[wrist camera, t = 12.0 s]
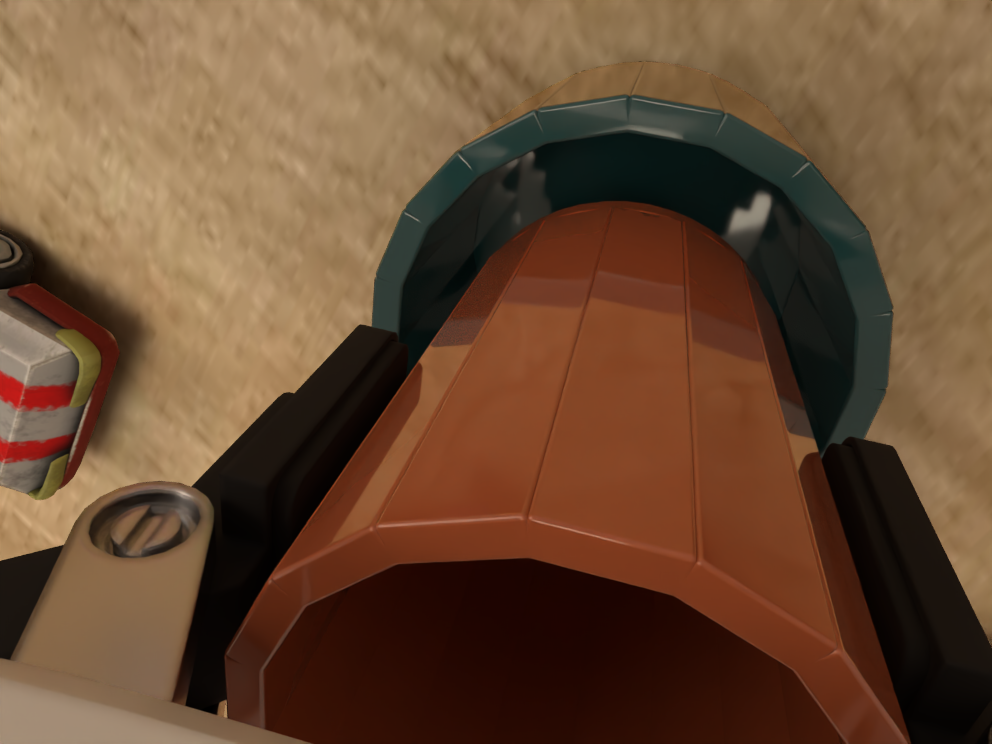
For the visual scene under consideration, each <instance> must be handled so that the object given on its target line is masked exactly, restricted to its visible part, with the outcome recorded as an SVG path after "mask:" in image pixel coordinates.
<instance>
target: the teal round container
mask: <svg viewBox="0 0 992 744" xmlns="http://www.w3.org/2000/svg"><path fill="white" fill-rule="evenodd" d="M602 201H628V202H635V203H643V204H650V205H654V206H657V207H661V208H665V209H669V210H672V211H674V212H677V213H679V214H681V215H684V216H686V217H689V218H691V219H693V220H695V221H697V222H698V223H700V224H702V225H703V226H705V227H707V228H709V229H710V230H712V231H713V232H714V233H716V234H717V235H718V236H719V237H721V238H722V239H723V240H725V241H726V242H727V243H728V244H729V245H730V246H731V247H732V248H733V249H734V250H735V251H736V252H737V253H738V254H739V255H740V256H741V257H742V258H743V259H744V261H745V262H746V263H747V265H748V266H749V267H750V269H751V270H752V272H753V273H754V274H755V276H756V278H757V280H758V282H759V284H760V285H761V287H762V289H763V291H764V293H765V296H766V299H767V301H768V303H769V305H770V306H771V308H772V310H773V311H774V313H775V316H776V319H777V322H778V325H779V328H780V331H781V334H782V337H783V341H784V344H785V347H786V350H787V353H788V356H789V360H790V363H791V366H792V369H793V372H794V375H795V378H796V382H797V385H798V388H799V391H800V394H801V397H802V401H803V404H804V407H805V410H806V413H807V416H808V419H809V423H810V426H811V429H812V432H813V435H814V438H815V441H816V445H817V448H818V451H819V454H820V457H821V459H822V457H823V455H824V453H825V451H826V449H827V447H828V446H829V445H830V444H831V443H837V444H842V442H843V441H844V440H845V439H846V438H848V437H850V436H851V437H855V438H860V439H864V438H865V436H866V434H867V432H868V430H869V428H870V425H871V423H872V421H873V419H874V417H875V415H876V413H877V411H878V409H879V406H880V404H881V402H882V400H883V398H884V396H885V394H886V388H887V387H888V381H889V368H890V354H891V341H892V327H893V314H894V313H893V311H892V310H893V304H892V301H891V298H890V295H889V292H888V289H887V286H886V283H885V280H884V277H883V273H882V270H881V267H880V264H879V261H878V258H877V255H876V252H875V249H874V246H873V243H872V239H871V236H870V233H869V231H868V230H867V229H866V226H865V224H864V223H863V222H862V221H861V220H860V218H859V217H858V216H857V215H856V213H855V212H854V211H853V210H852V209H851V207H850V206H849V205H848V204H847V202H846V201H845V200H844V199H843V198H842V196H841V195H840V194H839V193H838V191H837V190H836V189H835V188H834V187H833V185H832V184H831V183H830V182H829V180H828V179H827V178H826V177H825V175H824V174H823V173H822V172H821V171H820V169H819V168H818V167H817V166H816V164H815V163H814V162H813V161H812V160H811V158H810V157H809V156H808V155H807V153H806V152H805V151H804V150H803V149H802V147H801V146H800V145H799V144H798V143H797V141H796V140H795V139H794V138H793V137H792V135H791V134H790V133H789V132H788V131H787V129H786V128H785V127H784V126H783V125H782V123H781V122H780V121H779V120H778V118H777V117H776V116H775V115H774V114H773V112H772V111H771V110H770V109H769V108H768V106H765V105H764V103H762V102H761V101H759V100H757V99H755V98H754V97H752V96H751V95H750V94H748V93H747V92H745V91H743V90H742V89H740V88H738V87H737V86H735V85H733V84H732V83H730V82H728V81H726V80H724V79H722V78H719V77H717V76H715V75H713V74H709V73H707V72H706V71H702V70H698V69H694V68H690V67H686V66H682V65H678V64H670V63H660V62H651V61H646V62H642V61H639V62H623V63H618V64H612V65H606V66H601V67H596V68H593V69H590V70H584V71H581V72H580V73H575V74H573V75H572V76H570V77H568V78H566V79H564V80H562V81H560V82H558V83H556V84H554V85H551V86H550V87H548V88H547V89H545V90H543V91H541V92H540V93H538V94H536V95H534V96H532V97H530V98H528V99H526V100H525V101H524V102H522V103H521V104H520V105H518V106H517V107H515V108H514V109H513V110H511V111H510V112H509V113H507V114H506V115H505V116H503V117H502V118H500V119H499V120H498V121H496V122H495V123H494V124H492V125H491V126H490V127H488V128H487V129H485V130H484V131H483V132H481V133H480V134H479V135H477V136H476V137H474V138H473V139H472V140H470V141H469V142H468V143H466V144H465V145H464V146H462V147H461V148H460V149H458V150H457V151H456V152H455V153H454V154H453V155H452V156H451V157H450V158H449V159H448V160H447V161H446V162H445V164H444V165H443V166H442V167H441V168H440V169H439V170H438V171H437V172H436V173H435V174H434V175H433V176H432V178H431V179H430V180H429V181H428V182H427V183H426V184H425V185H424V186H423V187H422V188H421V189H420V190H419V192H418V193H417V194H416V195H415V196H414V197H413V198H412V199H411V200H410V201H409V202H408V203H407V204H406V207H405V209H404V210H403V211H402V213H401V215H400V217H399V220H398V222H397V225H396V227H395V229H394V232H393V234H392V236H391V239H390V241H389V243H388V246H387V248H386V250H385V253H384V255H383V257H382V260H381V262H380V264H379V267H378V269H377V271H376V277H375V280H374V296H373V312H372V327H375V328H379V329H383V330H388V331H392V332H396V333H397V335H398V342H399V343H403V344H407V346H408V363H407V374H406V378H407V376H408V375H409V373H410V372H411V370H412V369H413V367H414V366H415V365H416V363H417V362H418V360H419V359H420V357H421V356H422V354H423V353H424V352H425V350H426V349H427V347H428V346H429V344H430V343H431V341H432V340H433V339H434V337H435V336H436V334H437V333H438V331H439V330H440V328H441V327H442V325H443V324H444V323H445V321H446V320H447V318H448V317H449V315H450V314H451V312H452V311H453V310H454V308H455V307H456V305H457V304H458V302H459V301H460V299H461V298H462V296H463V295H464V294H465V292H466V291H467V289H468V288H469V286H470V285H471V283H472V282H473V281H474V279H475V278H476V276H477V275H478V273H479V272H480V270H481V269H482V268H483V266H484V265H485V263H486V262H487V260H488V259H489V257H491V256H492V255H493V253H495V252H496V251H497V250H498V249H499V248H500V247H501V246H502V245H503V244H504V243H505V242H506V241H507V240H509V239H510V238H511V237H512V236H514V235H515V234H516V233H518V232H519V231H520V230H521V229H523V228H524V227H526V226H528V225H530V224H531V223H533V222H535V221H536V220H538V219H540V218H542V217H544V216H547V215H549V214H552V213H554V212H556V211H559V210H562V209H565V208H569V207H573V206H577V205H581V204H587V203H595V202H602Z"/></svg>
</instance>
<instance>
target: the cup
mask: <svg viewBox="0 0 992 744" xmlns="http://www.w3.org/2000/svg"><path fill="white" fill-rule="evenodd" d="M224 670H225V686H226V702H227V717H228V719H231V720H235V721H238V722H241V723H245V724H248V725H251V726H255V727H258V728H261V729H265V730H268V731H271V732H275V733H278V734H282V735H285V736H288V737H292V738H295V739H298V740H302V741H305V742H308V743H312V744H911V741H910V738H909V735H908V731H907V728H906V725H905V722H904V719H903V716H902V713H901V709H900V706H899V703H898V700H897V697H896V694H895V690H894V687H893V684H892V681H891V678H890V675H889V672H888V668H887V665H886V662H885V659H884V656H883V653H882V650H881V646H880V643H879V640H878V637H877V634H876V631H875V627H874V624H873V621H872V618H871V615H870V612H869V609H868V605H867V602H866V599H865V596H864V593H863V590H862V586H861V583H860V580H859V577H858V574H857V571H856V568H855V564H854V561H853V558H852V555H851V552H850V549H849V545H848V542H847V539H846V536H845V533H844V530H843V527H842V523H841V520H840V517H839V514H838V511H837V508H836V505H835V501H834V498H833V495H832V492H831V489H830V486H829V482H828V479H827V476H826V473H825V470H824V467H823V464H822V460H821V457H820V454H819V451H818V448H817V445H816V441H815V438H814V435H813V432H812V429H811V426H810V423H809V419H808V416H807V413H806V410H805V407H804V404H803V401H802V397H801V394H800V391H799V388H798V385H797V382H796V378H795V375H794V372H793V369H792V366H791V363H790V360H789V356H788V353H787V350H786V347H785V344H784V341H783V337H782V334H781V331H780V328H779V325H778V322H777V319H776V316H775V313H774V311H773V310H772V308H771V306H770V305H769V303H768V301H767V299H766V296H765V293H764V291H763V289H762V287H761V285H760V284H759V282H758V280H757V278H756V276H755V274H754V273H753V272H752V270H751V269H750V267H749V266H748V265H747V263H746V262H745V261H744V259H743V258H742V257H741V256H740V255H739V254H738V253H737V252H736V251H735V250H734V249H733V248H732V247H731V246H730V245H729V244H728V243H727V242H726V241H725V240H723V239H722V238H721V237H719V236H718V235H717V234H716V233H714V232H713V231H712V230H710V229H709V228H707V227H705V226H703V225H702V224H700V223H698V222H697V221H695V220H693V219H691V218H689V217H686V216H684V215H681V214H679V213H677V212H674V211H672V210H669V209H665V208H661V207H657V206H654V205H650V204H643V203H635V202H628V201H602V202H595V203H587V204H581V205H577V206H573V207H569V208H565V209H562V210H559V211H556V212H554V213H552V214H549V215H547V216H544V217H542V218H540V219H538V220H536V221H535V222H533V223H531V224H530V225H528V226H526V227H524V228H523V229H521V230H520V231H519V232H518V233H516V234H515V235H514V236H512V237H511V238H510V239H509V240H507V241H506V242H505V243H504V244H503V245H502V246H501V247H500V248H499V249H498V250H497V251H496V252H495V253H493V255H492V256H491V257H489V259H488V260H487V262H486V263H485V265H484V266H483V268H482V269H481V270H480V272H479V273H478V275H477V276H476V278H475V279H474V281H473V282H472V283H471V285H470V286H469V288H468V289H467V291H466V292H465V294H464V295H463V296H462V298H461V299H460V301H459V302H458V304H457V305H456V307H455V308H454V310H453V311H452V312H451V314H450V315H449V317H448V318H447V320H446V321H445V323H444V324H443V325H442V327H441V328H440V330H439V331H438V333H437V334H436V336H435V337H434V339H433V340H432V341H431V343H430V344H429V346H428V347H427V349H426V350H425V352H424V353H423V354H422V356H421V357H420V359H419V360H418V362H417V363H416V365H415V366H414V367H413V369H412V370H411V372H410V373H409V375H408V376H407V378H406V379H405V381H404V382H403V383H402V385H401V386H400V388H399V389H398V391H397V392H396V394H395V395H394V396H393V398H392V399H391V401H390V402H389V404H388V405H387V407H386V408H385V409H384V411H383V412H382V414H381V415H380V417H379V418H378V420H377V421H376V423H375V424H374V425H373V427H372V428H371V430H370V431H369V433H368V434H367V436H366V437H365V438H364V440H363V441H362V443H361V444H360V446H359V447H358V449H357V450H356V451H355V453H354V454H353V456H352V457H351V459H350V460H349V462H348V463H347V465H346V466H345V467H344V469H343V470H342V472H341V473H340V475H339V476H338V478H337V479H336V480H335V482H334V483H333V485H332V486H331V488H330V489H329V491H328V492H327V494H326V495H325V496H324V498H323V499H322V501H321V502H320V504H319V505H318V507H317V508H316V509H315V511H314V512H313V514H312V515H311V517H310V518H309V520H308V521H307V522H306V524H305V525H304V527H303V528H302V530H301V531H300V533H299V534H298V536H297V537H296V538H295V540H294V541H293V543H292V544H291V546H290V547H289V549H288V550H287V551H286V553H285V554H284V556H283V557H282V559H281V560H280V562H279V563H278V564H277V566H276V567H275V569H274V570H273V572H272V573H271V575H270V576H269V578H268V579H267V581H266V582H265V584H264V586H263V587H262V589H261V591H260V592H259V594H258V596H257V597H256V599H255V601H254V602H253V604H252V606H251V607H250V609H249V611H248V612H247V614H246V616H245V617H244V619H243V620H242V622H241V624H240V625H239V627H238V629H237V630H236V632H235V634H234V635H233V637H232V639H231V640H230V642H229V644H228V645H227V647H226V650H225V654H224Z"/></svg>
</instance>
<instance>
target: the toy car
mask: <svg viewBox="0 0 992 744" xmlns="http://www.w3.org/2000/svg"><path fill="white" fill-rule="evenodd" d="M33 269H34V264H33V257H32V252H31V251H30V249H29V248H28V247H27V246H26V244H25V243H24V242H23V241H21V240H19V239H18V238H16V237H15V236H13V235H12V234H10V233H8V232H6V231H2V230H0V486H4V487H7V488H10V489H13V490H16V491H20V492H23V493H26V494H28V495H29V496H30V497H32V498H34V499H35V500H44V499H47V498H49V497H51V496H52V495H54V493H55V492H56V491H57V490H58V489H61V488H62V487H64V486H65V485H66V484H67V483H68V482H69V481H70V480H71V479H72V478H73V477H74V475H75V473H76V472H77V470H78V468H79V466H80V464H81V461H82V459H83V456H84V453H85V451H86V448H87V446H88V443H89V441H90V438H91V435H92V433H93V430H94V427H95V424H96V421H97V418H98V416H99V413H100V410H101V407H102V404H103V401H104V398H105V395H106V392H107V389H108V386H109V383H110V380H111V377H112V374H113V372H114V369H115V366H116V363H117V360H118V357H119V354H120V352H119V349H118V345H117V342H116V339H115V338H114V336H113V335H112V334H111V333H110V332H109V331H108V330H106V329H105V328H103V327H102V326H100V325H98V324H97V323H95V322H94V321H92V320H91V319H89V318H88V317H86V316H85V315H83V314H82V313H80V312H79V311H77V310H75V309H74V308H72V307H71V306H69V305H68V304H66V303H65V302H63V301H62V300H60V299H59V298H57V297H56V296H54V295H53V294H51V293H49V292H48V291H46V290H45V289H43V288H42V287H40V286H39V285H37V284H35V283H31V284H29V283H30V279H31V276H32V272H33Z"/></svg>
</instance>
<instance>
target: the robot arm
mask: <svg viewBox="0 0 992 744" xmlns="http://www.w3.org/2000/svg"><path fill="white" fill-rule="evenodd" d="M407 363H408V346H407V344H403V343H399V342H398V335H397V333H396V332H392V331H388V330H383V329H379V328H375V327H370V326H366V325H361V324H360V325H359V326H357V327H356V328H355V330H354V331H353V332H352V333H351V334H350V335H349V336H348V337H347V338H346V339H345V340H344V341H343V342H342V343H341V344H340V346H339V347H338V348H337V349H336V350H335V351H334V352H333V353H332V354H331V355H330V356H329V357H328V358H327V359H326V360H325V361H324V363H323V364H322V365H321V366H320V367H319V368H318V369H317V370H316V371H315V372H314V373H313V374H312V375H311V376H310V377H309V378H308V380H307V381H306V382H305V383H304V384H303V385H302V386H301V387H300V388H299V389H298V390H297V391H296V392H295V393H290V392H288V393H284V394H282V395H281V396H279V397H278V398H277V399H276V400H275V401H274V402H273V403H272V404H271V405H270V406H269V407H268V408H267V409H266V410H265V411H264V413H263V414H262V415H261V416H260V417H259V418H258V419H257V420H256V421H255V422H254V423H253V424H252V425H251V426H250V427H249V428H248V429H247V430H246V431H245V432H244V433H243V434H242V435H241V436H240V437H239V438H238V439H237V440H236V441H235V442H234V443H233V444H232V445H231V446H230V448H229V449H228V450H227V451H226V452H225V453H224V454H223V455H222V456H221V457H220V458H219V459H218V460H217V461H216V462H215V463H214V464H213V465H212V466H211V467H210V468H209V469H208V470H207V471H206V472H205V473H204V474H203V475H202V476H201V477H200V478H199V479H198V480H197V481H196V483H195V484H194V485H193V486H192V487H190V486H187V485H184V484H181V483H176V482H166V481H154V482H142V483H137V484H133V485H129V486H125V487H122V488H118V489H116V490H114V491H112V492H110V493H108V494H105V495H103V496H101V497H99V498H98V499H97V500H96V501H94V502H93V503H92V504H90V505H89V506H88V507H86V508H85V509H84V511H83V512H82V513H81V515H80V516H79V517H78V519H77V520H76V522H75V523H74V525H73V528H72V530H71V532H70V534H69V536H68V538H67V540H66V542H65V544H64V545H62V546H58V547H54V548H50V549H46V550H42V551H38V552H34V553H30V554H26V555H22V556H18V557H14V558H10V559H6V560H2V561H0V744H312V743H308V742H305V741H302V740H298V739H295V738H292V737H288V736H285V735H282V734H278V733H275V732H271V731H268V730H265V729H261V728H258V727H255V726H251V725H248V724H245V723H241V722H238V721H235V720H231V719H228V718H224V711H225V705H226V686H225V670H224V654H225V650H226V647H227V645H228V644H229V642H230V640H231V639H232V637H233V635H234V634H235V632H236V630H237V629H238V627H239V625H240V624H241V622H242V620H243V619H244V617H245V616H246V614H247V612H248V611H249V609H250V607H251V606H252V604H253V602H254V601H255V599H256V597H257V596H258V594H259V592H260V591H261V589H262V587H263V586H264V584H265V582H266V581H267V579H268V578H269V576H270V575H271V573H272V572H273V570H274V569H275V567H276V566H277V564H278V563H279V562H280V560H281V559H282V557H283V556H284V554H285V553H286V551H287V550H288V549H289V547H290V546H291V544H292V543H293V541H294V540H295V538H296V537H297V536H298V534H299V533H300V531H301V530H302V528H303V527H304V525H305V524H306V522H307V521H308V520H309V518H310V517H311V515H312V514H313V512H314V511H315V509H316V508H317V507H318V505H319V504H320V502H321V501H322V499H323V498H324V496H325V495H326V494H327V492H328V491H329V489H330V488H331V486H332V485H333V483H334V482H335V480H336V479H337V478H338V476H339V475H340V473H341V472H342V470H343V469H344V467H345V466H346V465H347V463H348V462H349V460H350V459H351V457H352V456H353V454H354V453H355V451H356V450H357V449H358V447H359V446H360V444H361V443H362V441H363V440H364V438H365V437H366V436H367V434H368V433H369V431H370V430H371V428H372V427H373V425H374V424H375V423H376V421H377V420H378V418H379V417H380V415H381V414H382V412H383V411H384V409H385V408H386V407H387V405H388V404H389V402H390V401H391V399H392V398H393V396H394V395H395V394H396V392H397V391H398V389H399V388H400V386H401V385H402V383H403V382H404V381H405V379H406V374H407ZM821 460H822V464H823V467H824V470H825V473H826V476H827V479H828V482H829V486H830V489H831V492H832V495H833V498H834V501H835V505H836V508H837V511H838V514H839V517H840V520H841V523H842V527H843V530H844V533H845V536H846V539H847V542H848V545H849V549H850V552H851V555H852V558H853V561H854V564H855V568H856V571H857V574H858V577H859V580H860V583H861V586H862V590H863V593H864V596H865V599H866V602H867V605H868V609H869V612H870V615H871V618H872V621H873V624H874V627H875V631H876V634H877V637H878V640H879V643H880V646H881V650H882V653H883V656H884V659H885V662H886V665H887V668H888V672H889V675H890V678H891V681H892V684H893V687H894V690H895V694H896V697H897V700H898V703H899V706H900V709H901V713H902V716H903V719H904V722H905V725H906V728H907V731H908V735H909V738H910V741H911V744H992V647H991V645H990V643H989V641H988V639H987V637H986V635H985V633H984V631H983V629H982V627H981V625H980V623H979V621H978V619H977V616H976V614H975V612H974V610H973V608H972V606H971V604H970V602H969V600H968V598H967V596H966V594H965V592H964V590H963V588H962V586H961V583H960V581H959V579H958V577H957V575H956V573H955V571H954V569H953V567H952V565H951V563H950V561H949V559H948V557H947V555H946V553H945V551H944V549H943V547H942V545H941V542H940V540H939V538H938V536H937V534H936V532H935V530H934V528H933V526H932V524H931V522H930V520H929V518H928V516H927V514H926V512H925V509H924V507H923V505H922V503H921V501H920V499H919V497H918V495H917V493H916V491H915V489H914V487H913V485H912V483H911V481H910V479H909V476H908V474H907V472H906V470H905V468H904V466H903V464H902V462H901V460H900V458H899V456H898V454H897V452H896V450H895V449H894V447H893V446H890V445H886V444H881V443H877V442H873V441H868V440H864V439H860V438H855V437H851V436H850V437H848V438H846V439H845V440H844V441H843V442H842V444H837V443H831V444H830V445H829V446H828V447H827V449H826V451H825V453H824V455H823V457H822V459H821Z"/></svg>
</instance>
